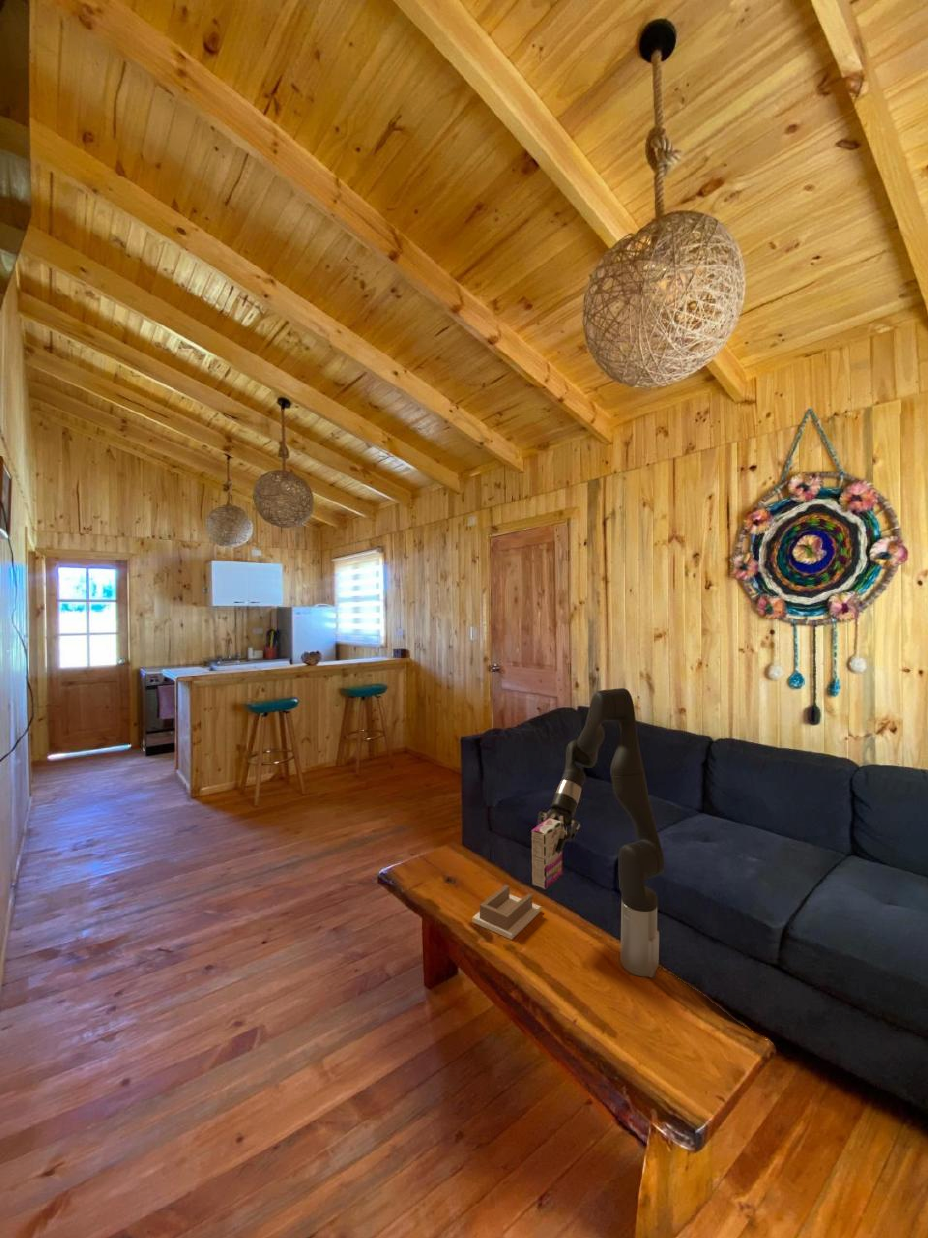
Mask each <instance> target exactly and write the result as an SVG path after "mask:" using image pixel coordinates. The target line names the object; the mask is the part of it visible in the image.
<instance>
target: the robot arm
mask: <svg viewBox="0 0 928 1238" xmlns="http://www.w3.org/2000/svg"><path fill="white" fill-rule="evenodd" d="M636 720H637V719H636V712H635V705H634V700H633V696H632V695H631V692H630V691H629V690H628V689H626V688H625V687H624V688H623V687H622V688H610V689H609V688H608V689H602V690H597V691H596V692H595V693H593V695H592V697H591V700H590V703H589V708H588V711H587V715H586V720H585V725H584V727H583V729H582V731H581V733H580V734H579V736H578V739H577V740H576V739H575V740H571V741H570V742H569V743H568V744H567V746H566V751H565V765H564V771H563V774H562V777H561V780H560V782H559V784H558V786H557V788H556V791H555V793H554V797H553V799H552V803H551V805H550V809H549V810H548V811H547V812H543V811H539V812H538V816H537V822H536V823H537V824H536V827H537V826H538V825H540V824H541V823H543V822H544V821H545V820H547V819H548V818H551V819H554V820H558V821H562V827H561V833H560V839H559V840H558V843H557V846H556V849H555V851H556V852H557V853H560V852H562V853H563V849H564V846H565V843H566V842H569V843H572V842H573V841H574V838H575V837H576V835H577V834H578V832H579V830H580V829H581V828H582V827H581V824H580V822H579V821H578V820H574V816H575V813H576V810H577V807H578V804H579V802H580V798H581V793H582V789H583V787H584V786H583V785H584V783H585V780H586V777H587V776H586V773H585V771H584V770H583V769H582V768H580V767H579V766H582V767H583V768H587V769H591V768H593V767H594V766H595V765H596V764H597V762H598V756H599V749H600V746H601V745H602V744H603V742H604V739H605V737H606V736H605V730H604V726H603V725H602V724H603V723H605V722H606V723H609V722H619V729H620V730H619V732H620V734H619V740H618V744H617V747H616V749H615V752H614V755H613V756H612V759H611V763H610V768H609V773H610V778H611V784H612V788H613V793H614V795H615V797H616V799H617V801H618V802H619V804H620V805H621V806H622V808H623V809H624V810H625V811H626V813H627V814H628V816H629V817H630V819H631V821H632V824H633V825H634V830H635V834H636V841H635V842H632V843H627V844H624V845H623V846H621V847H620V849H619V851H618V858H617V862H618V863H617V866H618V885H619V886H618V887H619V890H620V894H621V912H620V913H621V914H620V916H621V917H620V954H619V955H620V964H621V966H622V967H623V969H624V970H626V971H627V972H628V973H630V974H632V975H634V976H635V975H636V976H638V977H647V978H652V979H653V977H654V975H655V974H656V972H657V969H658V968H659V962H660V960H659V957H660V956H659V955H660V953H659V952H660V931H659V930H658V896H657V893H656V891H654V890H653V889H652V888H650V887H649V886H646V884H645V881H646V880H649V879H652V878H655V877H659V876H660V875H662V874H663V873H664V871H665V862H666V861H665V856H664V852H663V851H664V850H663V847H662V845H661V840H660V837H659V834H658V831H657V827H656V823H655V820H654V816H653V811H652V806H651V802H650V798H649V792H648V791H649V789H648V786H647V785H648V784H647V779H646V778H647V777H646V775H645V773H646V772H645V769H644V766H643V765H644V764H643V762H642V760H643V759H642V757H641V750H640V745H639V744H640V743H639V738H638V729H637V721H636ZM578 765H579V766H578ZM568 827H571V828H570V829H569V830H568V829H567V828H568Z"/></svg>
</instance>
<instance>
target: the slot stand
mask: <svg viewBox="0 0 928 1238" xmlns="http://www.w3.org/2000/svg"><path fill="white" fill-rule="evenodd" d="M510 891H511V890H510V885H508V884H504V885H503V886H502V887H501V888H499V889H498V890H497V891H496V892H494V893H493V894H492V895H491V896H489V897H488V898H486V900H484V901H483V902H482V903H481V904H479V911H478V912H477V913H476V914H475V915H473V916H471V917H472V920H471V921H472V923H473V924H476V925H477V926H480V927H482V928H484V929H487V930H489V931H491V932H493V933H496V934H498V935H500V936H502V937H504V938H507V939H509V940H511V941H512V940H513V939H514V938H515V937H516V936H517V935H518V934H519V933H520V932H521V931H522V930H524V928H525V927H526V926H527V925H529V924H530V922H531V921H533V919H534V918H535V917H536V916H537V915H538V914H539V913H540V912H541V910H542V908H541V907H542V906H540V905H537V904H536V903H533V894H532V893H526V894H525V895H524V896H523V897H522V898H521V897H518V896H516V895H513V894H511V893H510Z"/></svg>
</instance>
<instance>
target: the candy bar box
mask: <svg viewBox="0 0 928 1238" xmlns="http://www.w3.org/2000/svg"><path fill="white" fill-rule="evenodd" d="M561 827H562V821H558V820H554V819H551V818H548V817H547V818H546V820H544V822H543V823H541V824H540V825H538V826H537V825H536V827H534V828H533V829H531V831H530V833H531V884H532V885H533V886H535V887H538V888H541V889H544V890H546V889H548V888H550V886H552V884H553V883H554V882H555V881H556V880H557V879H558V878H560V877H561V876H562V875H563V872H564V871H563V851H562V852H560V853H557V852H556V851H555V849H556V846H557V843H558V840H559V839H560V833H561Z"/></svg>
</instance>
